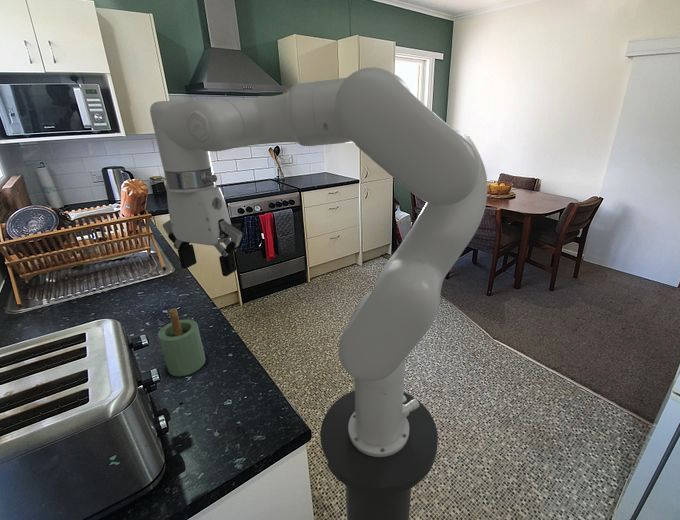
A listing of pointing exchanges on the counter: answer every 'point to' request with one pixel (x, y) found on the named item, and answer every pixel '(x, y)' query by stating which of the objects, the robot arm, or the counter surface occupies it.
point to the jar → (182, 348)
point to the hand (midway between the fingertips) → (209, 269)
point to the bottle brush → (175, 322)
